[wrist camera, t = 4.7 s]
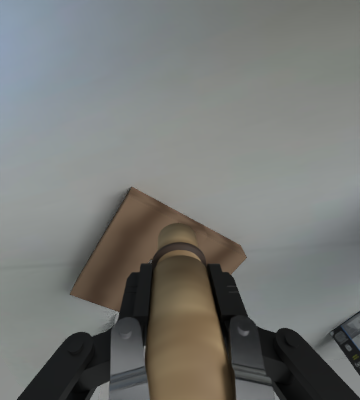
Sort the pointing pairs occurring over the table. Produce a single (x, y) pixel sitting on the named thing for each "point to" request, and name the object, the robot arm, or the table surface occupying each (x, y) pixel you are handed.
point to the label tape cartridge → (349, 340)
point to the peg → (184, 324)
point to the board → (142, 248)
